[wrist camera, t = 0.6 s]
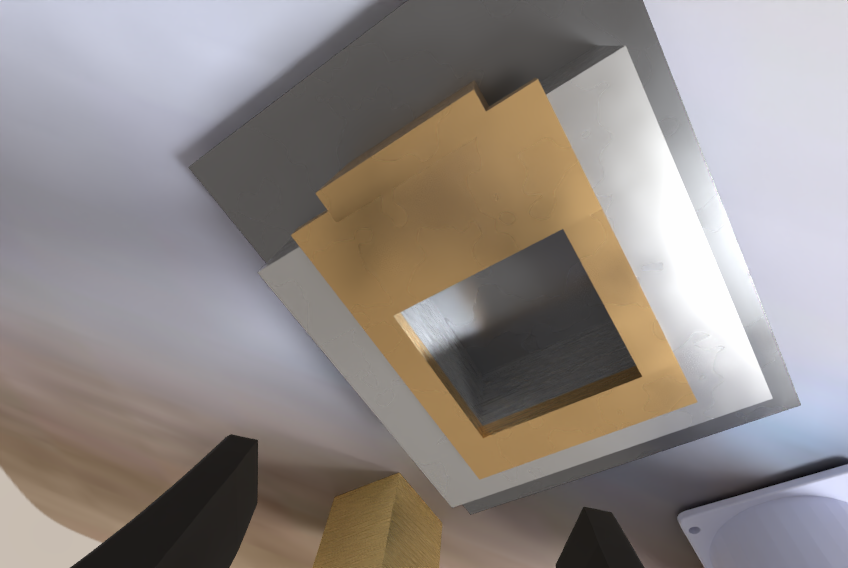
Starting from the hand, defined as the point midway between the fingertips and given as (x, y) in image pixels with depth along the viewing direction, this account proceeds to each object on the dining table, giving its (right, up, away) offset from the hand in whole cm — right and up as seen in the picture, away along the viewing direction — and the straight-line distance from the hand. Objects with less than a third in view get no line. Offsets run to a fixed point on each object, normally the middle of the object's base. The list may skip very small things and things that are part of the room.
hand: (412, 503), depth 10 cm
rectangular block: (-2, -7, +15) cm, 17 cm away
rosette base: (+4, +5, +8) cm, 10 cm away
